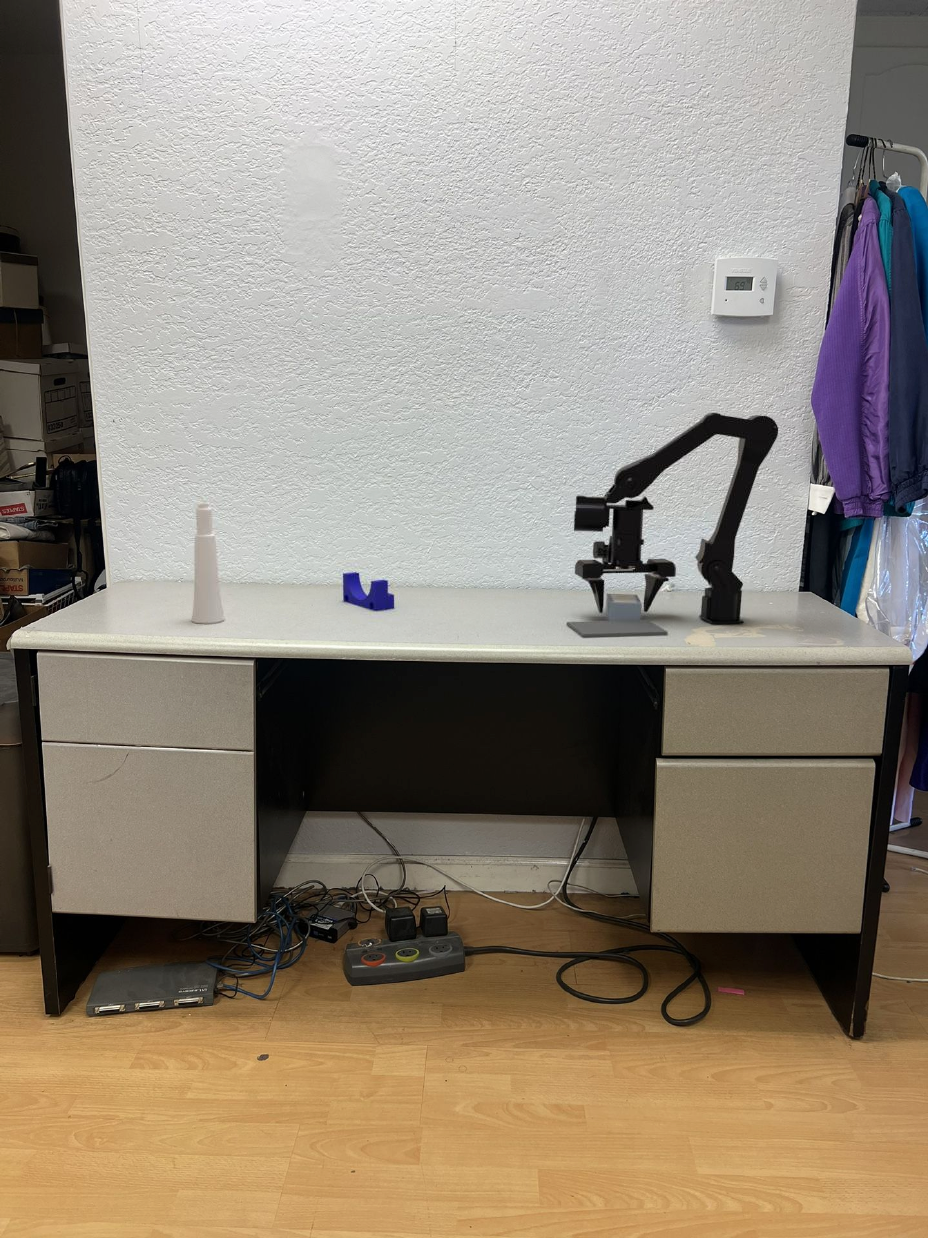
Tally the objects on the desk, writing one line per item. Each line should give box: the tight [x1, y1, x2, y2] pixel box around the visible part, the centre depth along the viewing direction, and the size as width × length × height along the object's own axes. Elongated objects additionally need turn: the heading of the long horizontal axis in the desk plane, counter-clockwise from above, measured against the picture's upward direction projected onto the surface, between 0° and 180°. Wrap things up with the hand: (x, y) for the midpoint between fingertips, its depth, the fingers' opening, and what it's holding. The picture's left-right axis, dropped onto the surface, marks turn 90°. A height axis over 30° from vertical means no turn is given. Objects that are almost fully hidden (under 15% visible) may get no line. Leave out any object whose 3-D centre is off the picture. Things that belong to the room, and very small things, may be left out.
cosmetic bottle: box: [191, 501, 226, 625], centre depth 184 cm, size 6×6×22 cm
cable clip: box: [342, 571, 395, 612], centre depth 202 cm, size 12×4×6 cm, turn 38°
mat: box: [566, 619, 669, 638], centre depth 184 cm, size 16×10×1 cm, turn 101°
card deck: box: [605, 593, 643, 621], centre depth 194 cm, size 6×9×4 cm, turn 176°
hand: (623, 612), depth 194 cm, fingers open, 9 cm apart
